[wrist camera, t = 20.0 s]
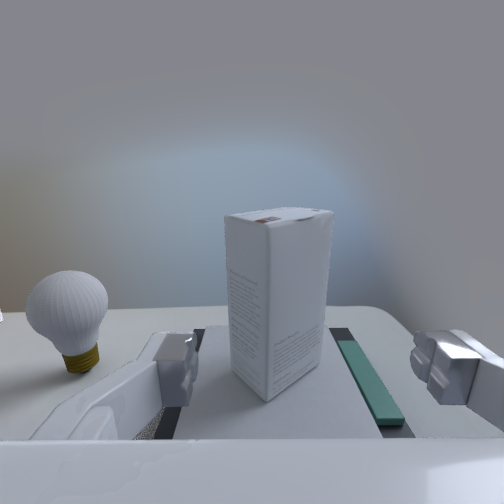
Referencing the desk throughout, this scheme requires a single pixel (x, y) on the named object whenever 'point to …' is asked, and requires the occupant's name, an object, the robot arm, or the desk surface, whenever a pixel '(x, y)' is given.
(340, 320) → the desk surface
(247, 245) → the cosmetic box
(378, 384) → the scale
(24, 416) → the desk surface
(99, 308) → the light bulb
